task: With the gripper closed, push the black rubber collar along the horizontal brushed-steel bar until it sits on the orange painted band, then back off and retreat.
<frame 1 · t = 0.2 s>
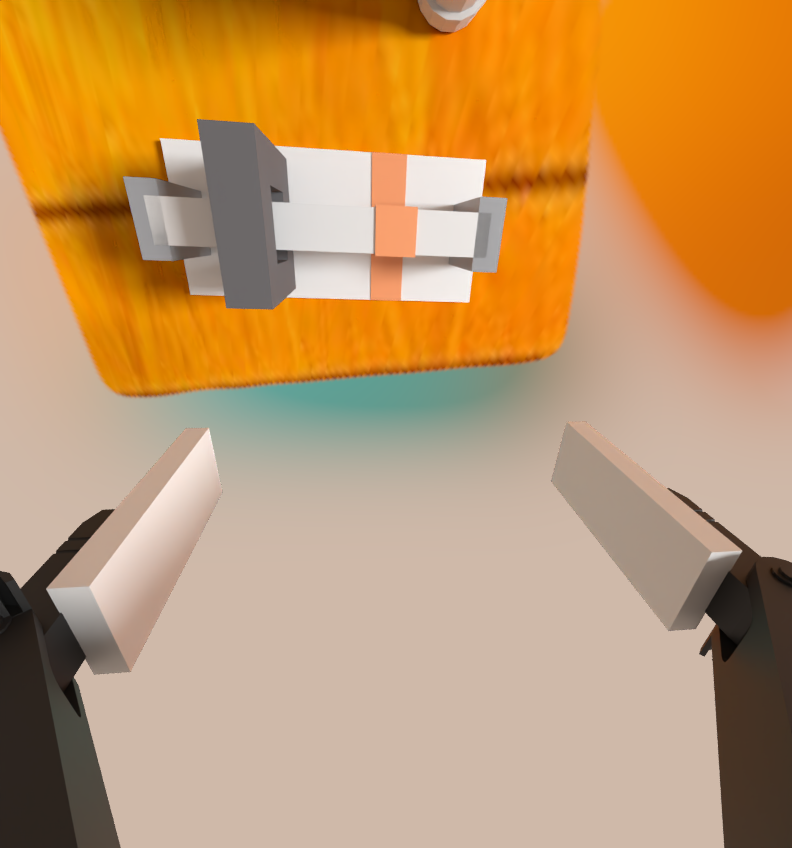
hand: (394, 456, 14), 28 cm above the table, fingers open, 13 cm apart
collar: (259, 225, 28), point 7 cm above the table, slide at 0.0 cm
rail: (333, 230, 35), on the table
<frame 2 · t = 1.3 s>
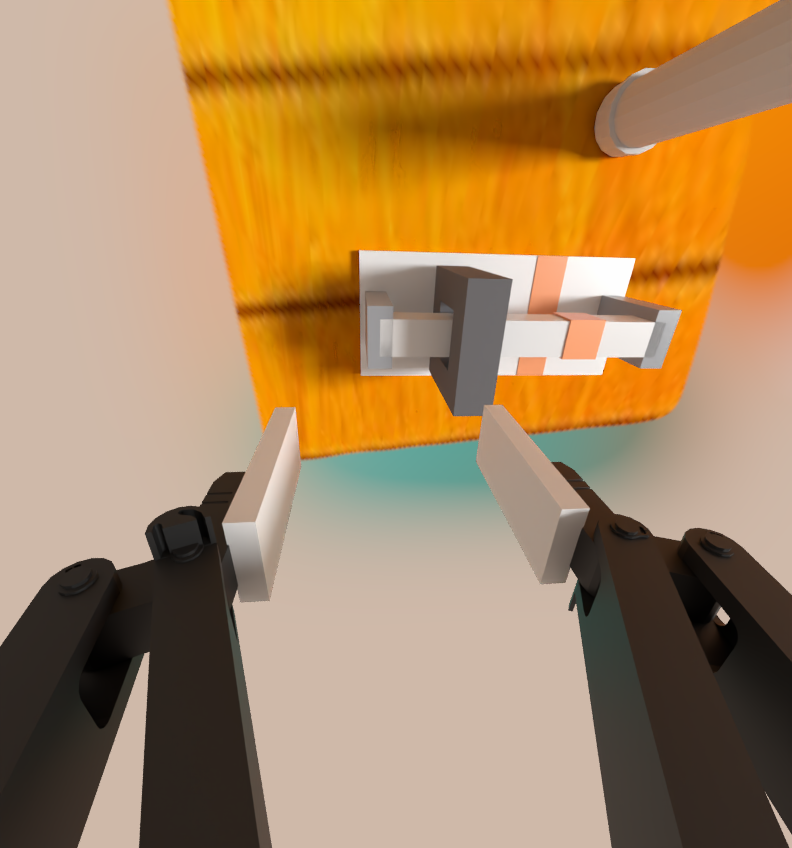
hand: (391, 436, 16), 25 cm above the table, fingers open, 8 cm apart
pipe: (619, 117, 32), on the table
collar: (461, 334, 32), point 7 cm above the table, slide at 0.0 cm
rail: (490, 317, 39), on the table
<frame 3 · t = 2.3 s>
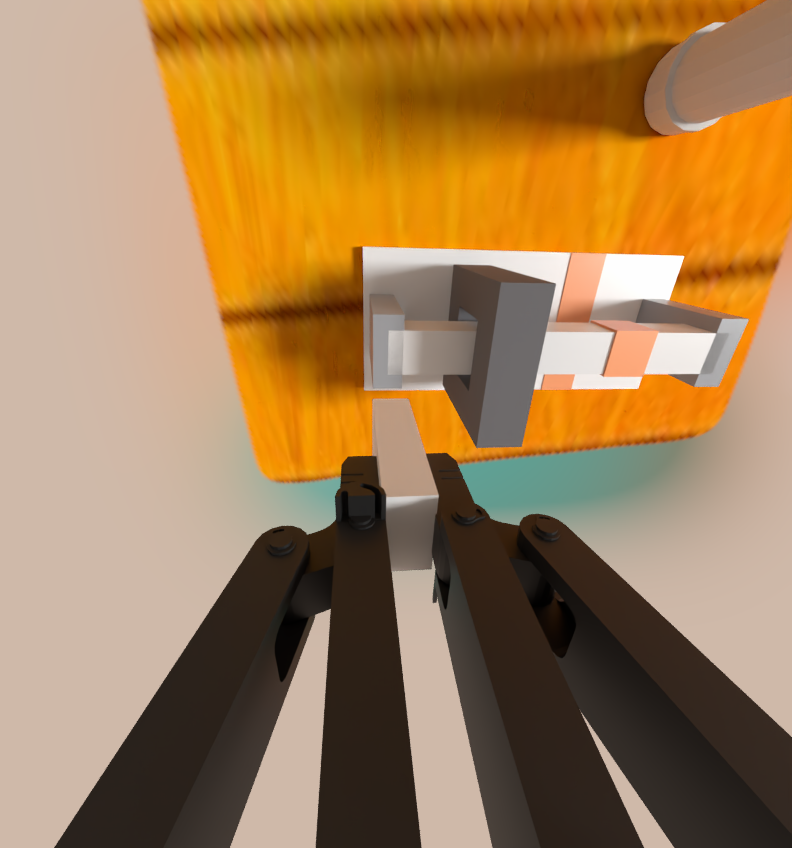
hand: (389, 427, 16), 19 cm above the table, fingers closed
pipe: (674, 87, 27), on the table
collar: (484, 347, 27), point 8 cm above the table, slide at 0.0 cm
rail: (513, 324, 34), on the table
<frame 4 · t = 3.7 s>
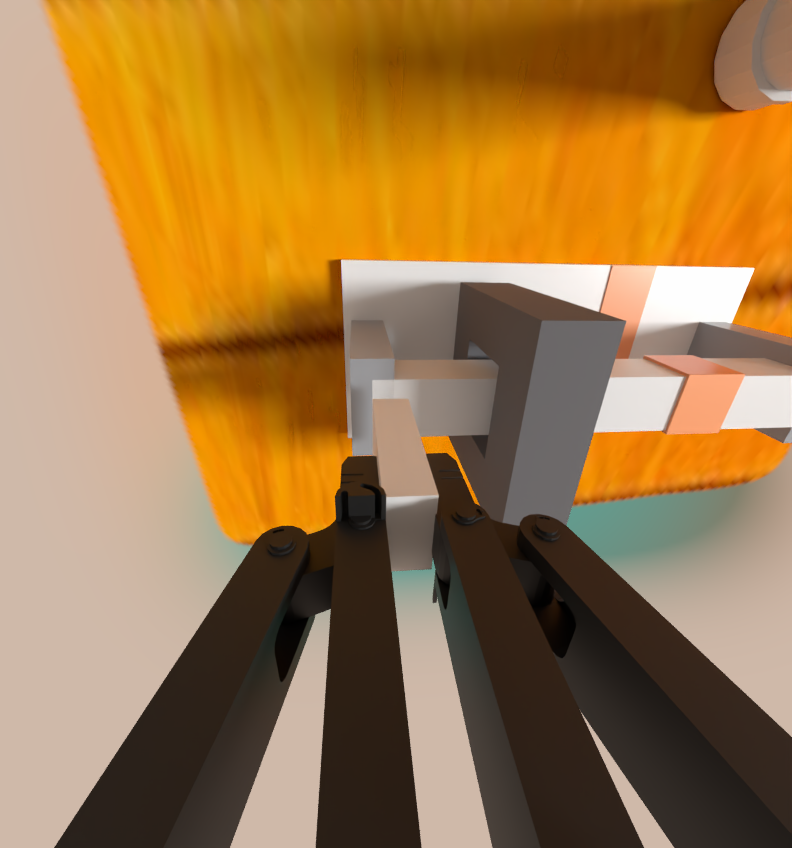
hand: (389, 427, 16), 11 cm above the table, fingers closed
pipe: (754, 45, 20), on the table
collar: (504, 395, 20), point 7 cm above the table, slide at 0.0 cm
rail: (535, 354, 27), on the table
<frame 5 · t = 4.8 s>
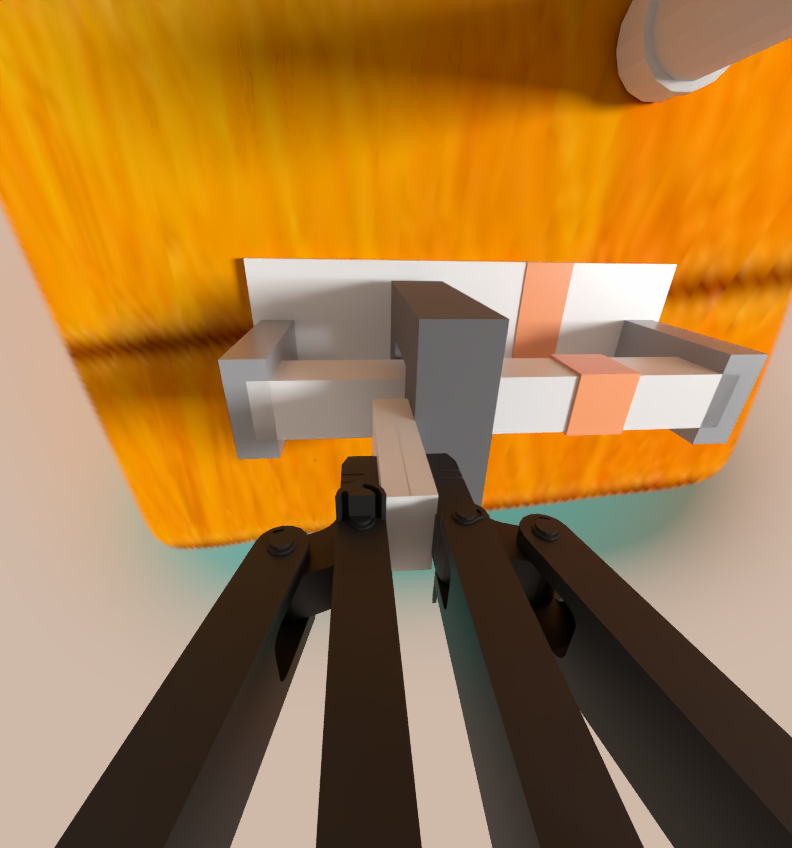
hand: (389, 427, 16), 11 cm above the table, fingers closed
pipe: (657, 34, 20), on the table
collar: (427, 396, 19), point 8 cm above the table, slide at 1.5 cm, touching gripper
rail: (459, 353, 26), on the table
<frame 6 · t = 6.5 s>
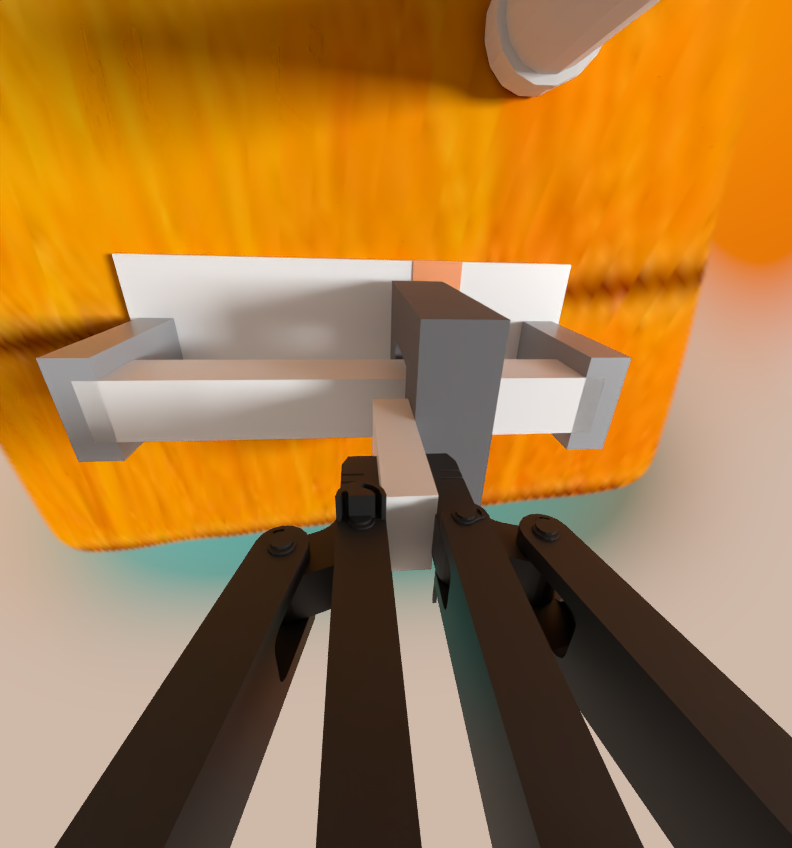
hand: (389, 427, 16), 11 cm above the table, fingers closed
pipe: (528, 26, 19), on the table
collar: (427, 396, 19), point 8 cm above the table, slide at 8.6 cm, touching gripper
rail: (356, 354, 26), on the table
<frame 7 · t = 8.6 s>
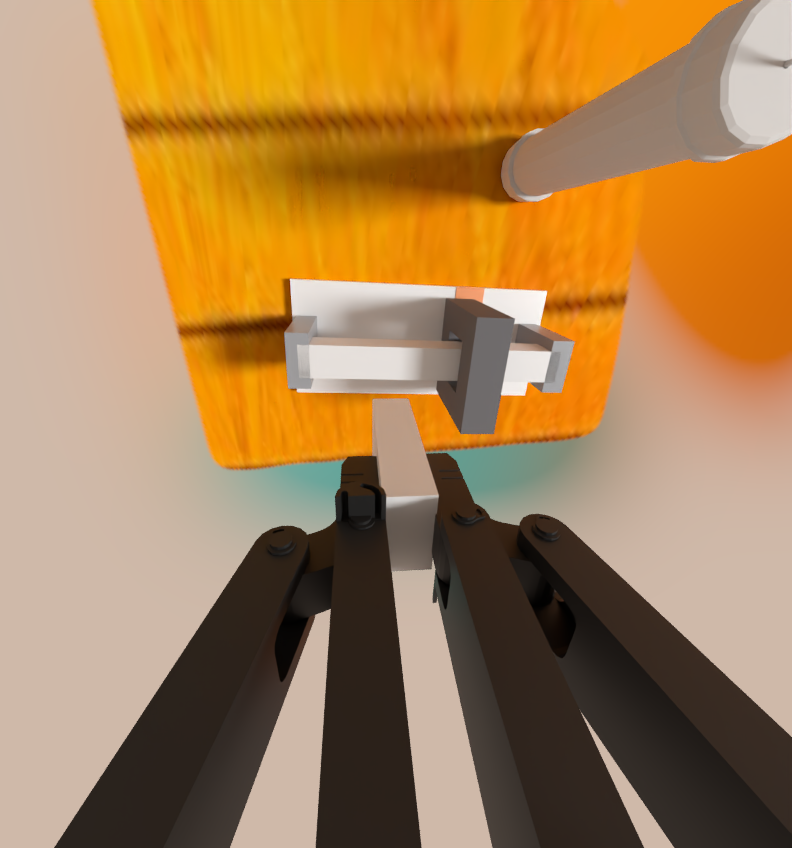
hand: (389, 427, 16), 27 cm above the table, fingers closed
pipe: (523, 167, 36), on the table
collar: (468, 361, 36), point 7 cm above the table, slide at 8.7 cm
rail: (417, 341, 42), on the table
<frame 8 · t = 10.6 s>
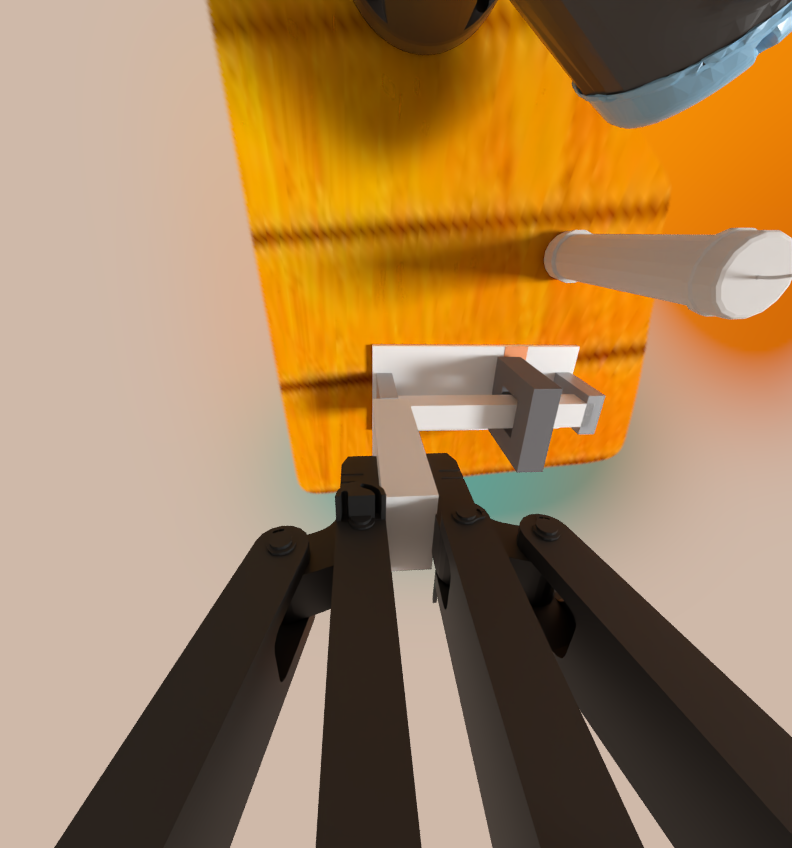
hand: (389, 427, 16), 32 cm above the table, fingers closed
pipe: (562, 253, 45), on the table
collar: (518, 411, 45), point 8 cm above the table, slide at 8.7 cm
rail: (471, 388, 51), on the table
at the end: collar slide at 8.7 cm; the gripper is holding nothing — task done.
